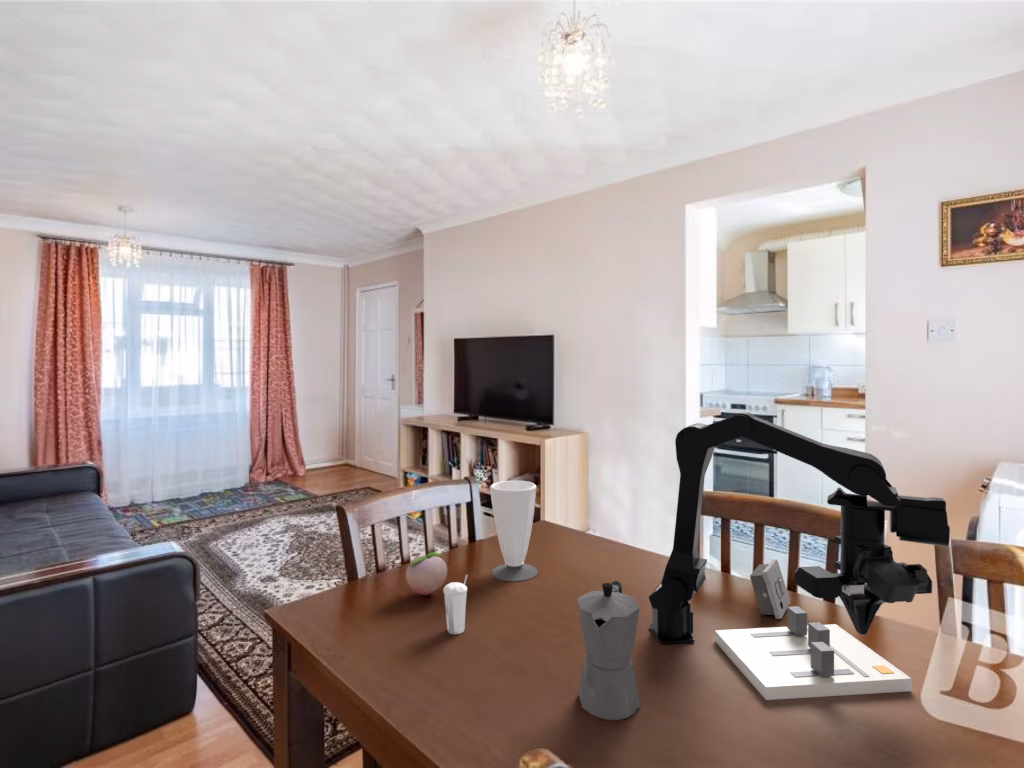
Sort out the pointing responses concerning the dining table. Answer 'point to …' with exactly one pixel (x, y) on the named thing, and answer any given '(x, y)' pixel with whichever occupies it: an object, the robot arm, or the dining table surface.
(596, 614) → the coffeepot
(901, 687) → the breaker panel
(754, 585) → the electrical switch
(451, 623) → the milkshake
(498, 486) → the cup
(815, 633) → the handle
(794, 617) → the far breaker handle
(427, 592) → the decorative fruit
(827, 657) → the block
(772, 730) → the dining table surface
